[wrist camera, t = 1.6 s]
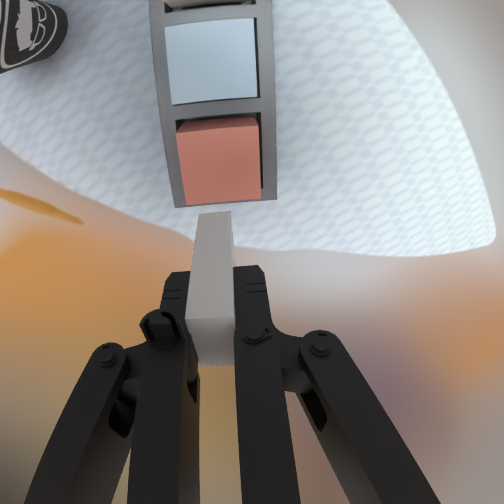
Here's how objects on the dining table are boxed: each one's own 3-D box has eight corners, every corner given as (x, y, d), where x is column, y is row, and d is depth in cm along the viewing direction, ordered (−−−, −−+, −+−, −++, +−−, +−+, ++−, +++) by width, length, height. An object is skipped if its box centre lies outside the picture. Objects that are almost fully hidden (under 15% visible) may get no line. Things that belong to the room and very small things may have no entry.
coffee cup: (48, -20, 14) (-45, -33, 2) (97, 17, 19) (2, 5, 7) (0, 49, 17) (-95, 75, 5) (43, 89, 22) (-55, 130, 10)
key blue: (174, 32, 18) (164, 27, 15) (249, 24, 19) (253, 17, 15) (180, 98, 22) (171, 104, 19) (252, 91, 22) (257, 96, 19)
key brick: (183, 122, 23) (175, 133, 20) (254, 115, 23) (258, 125, 20) (191, 185, 27) (186, 205, 24) (256, 179, 27) (261, 198, 24)
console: (159, -45, 16) (147, -61, 12) (260, -55, 16) (266, -73, 12) (182, 186, 31) (175, 207, 27) (270, 178, 31) (276, 199, 27)
